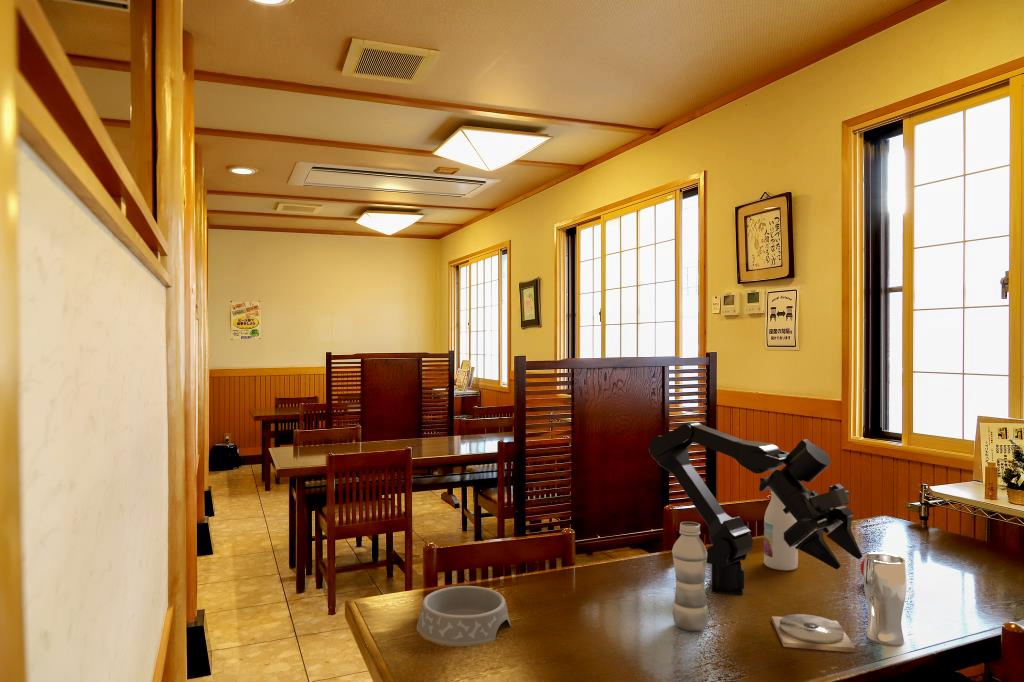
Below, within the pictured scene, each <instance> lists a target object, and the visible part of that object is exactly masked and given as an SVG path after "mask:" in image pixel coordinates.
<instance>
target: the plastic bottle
mask: <svg viewBox="0 0 1024 682" xmlns="http://www.w3.org/2000/svg"><path fill="white" fill-rule="evenodd" d="M679 524H680V525H679V534H680V536H679V537H678V539H677V540H676V541H675V542H674V544H673V546H672V550H671V551H672V560H673V566H674V576H675V591H674V593H675V594H674V602H673V605H672V606H673V607H672V617H673V622H674V624H675V625H676V626H677V627H678V628H679V629H681V630H685V631H689V632H699V631H703V630H705V628H706V627H707V626H708V625H709V624H708V623H709V617H710V616H709V611H708V605H707V600H706V598H707V597H706V589H705V587H706V586H705V585H706V584H705V581H706V569H707V564H708V563H707V550H708V549H707V548H706V547H707V546H705V543H704V542H703V540H702V539H701V538H700V535H701V524H700V523H698V522H695V521H682V522H680V523H679Z"/></svg>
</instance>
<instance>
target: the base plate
mask: <svg viewBox="0 0 1024 682" xmlns="http://www.w3.org/2000/svg"><path fill="white" fill-rule="evenodd" d="M782 617H783V616H777V615H776V616H773V615H772V616H771V621H772V622H771V623H773V626H774V629H775V630H776V633H777V636H778V637H779V640H780V642H781V644H782V646H783V647H784V648H795V649H808V650H820V651H833V652H847V653H856V647H855V645H854V644H853V642H852V641H851V639H850V638H849V636H848V635H847V633H846V631H844V638H843V640H842V641H840V642H837V643H833V644H815V643H809V642H804V641H800V640H797V639H794V638H792V637H790V636H788V635H786V634H785V633H783V632H782V631H781V629H780V619H781V618H782ZM833 621H834V622H836V623H837V624H839V625H840V622H839V621H838V620H833Z"/></svg>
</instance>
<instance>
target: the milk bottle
mask: <svg viewBox="0 0 1024 682" xmlns="http://www.w3.org/2000/svg"><path fill="white" fill-rule="evenodd" d="M770 493H771V498H770V501H769V504H768V506H767V508H766V510H765V512H764V517H763V518H764V520H763V563H764V565H765V566H766V567H768V568H769V569H773V570H779V571H793V570H796V569H798V564H799V553H798V552H799V551H798V550H799V549H796V548H795V547H796V546H797V545H798V544H799V543H798V544H797V545H795V546H793V547H789V545H788V544H787V543H786V542H785V540H784V532H785V531H786V530H787V529H789V528H790V527H791V526H792V525H793V524H794V523H796V522H797V521H796V520H795V518H794V517H793V516H792V515H791V513H788V514H785V512H784V511H783V509H784V508H785V506H784V505H783V503H782V502H781V501H780V500H779V499H778V497H777V496H776V495H775V494H774V492H773V491H772V490H771V489H770Z"/></svg>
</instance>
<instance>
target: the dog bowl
mask: <svg viewBox="0 0 1024 682" xmlns="http://www.w3.org/2000/svg"><path fill="white" fill-rule="evenodd" d="M507 607H508V606H507V601H506V599H505V597H504V596H503V595H502V594H501V593H500V592H497V591H496V590H493V589H491V588H487V587H484V586H483V587H482V586H478V585H477V586H476V585H475V586H474V585H457V586H449V587H444V588H440V589H437V590H435V591H432V592H431V593H429V594H427V595H425V597H424V598H423V599H422V602H421V608H420V612H419V617H418V619H417V623H416V631H417V630H418V632H419V633H420V634H421V635H422V636H424V637H425V638H427V639H429V640H432V641H434V642H438V643H441V644H445V645H451V646H467V647H472V646H471V645H476V646H479V645H478V644H481V645H483V644H482V643H486V644H488V643H487V642H489V643H492V642H495V641H496V637H497V636H496V635H497V632H498V629H499V627H500V626H501V625H502V624H503V623H505V621H506V620H507V622H508V624H509V627H511V621H510V618H509V617H510V616H509V612H508V608H507ZM418 632H417V633H418ZM494 640H495V641H494ZM491 641H492V642H491ZM451 646H450V647H451Z"/></svg>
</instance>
